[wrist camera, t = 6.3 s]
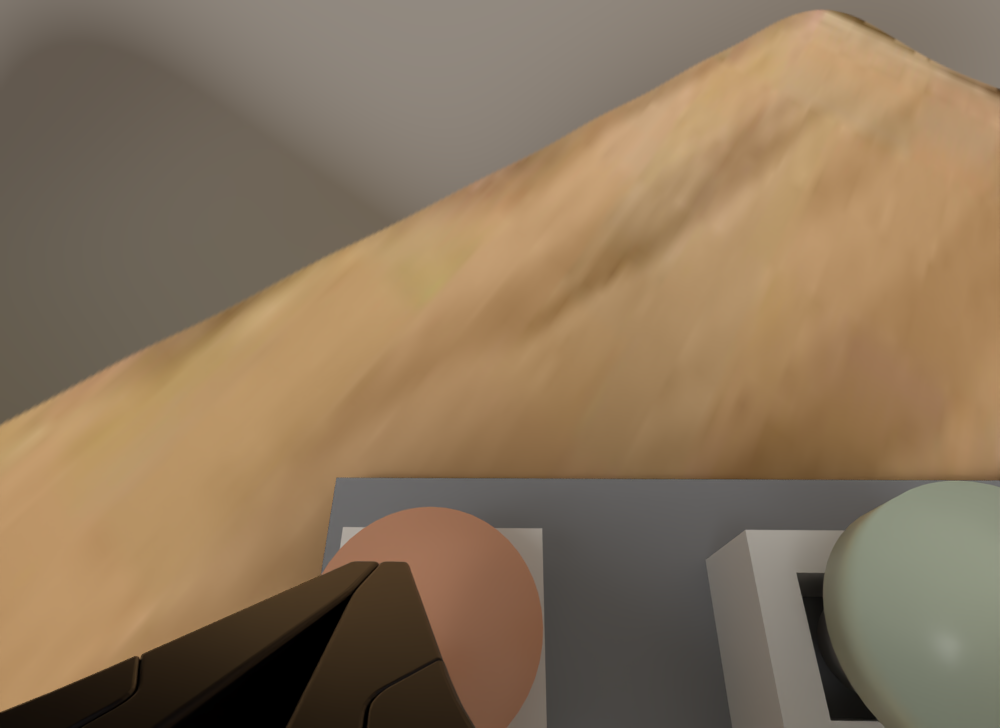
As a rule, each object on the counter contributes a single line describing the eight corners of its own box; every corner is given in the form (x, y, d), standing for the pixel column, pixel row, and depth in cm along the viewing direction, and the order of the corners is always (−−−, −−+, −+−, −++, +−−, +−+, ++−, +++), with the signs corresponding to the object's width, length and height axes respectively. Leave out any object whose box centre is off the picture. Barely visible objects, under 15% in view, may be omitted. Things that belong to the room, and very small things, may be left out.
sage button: (1017, 772, 12) (1256, 806, 8) (786, 768, 12) (913, 800, 8) (934, 541, 15) (1089, 480, 11) (741, 539, 15) (824, 479, 11)
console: (1409, 891, 14) (1792, 971, 10) (292, 864, 15) (204, 929, 11) (1178, 496, 19) (1367, 437, 15) (348, 492, 20) (302, 435, 16)
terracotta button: (538, 754, 14) (546, 774, 10) (344, 751, 14) (279, 769, 10) (534, 553, 17) (540, 507, 13) (368, 552, 17) (323, 506, 13)
